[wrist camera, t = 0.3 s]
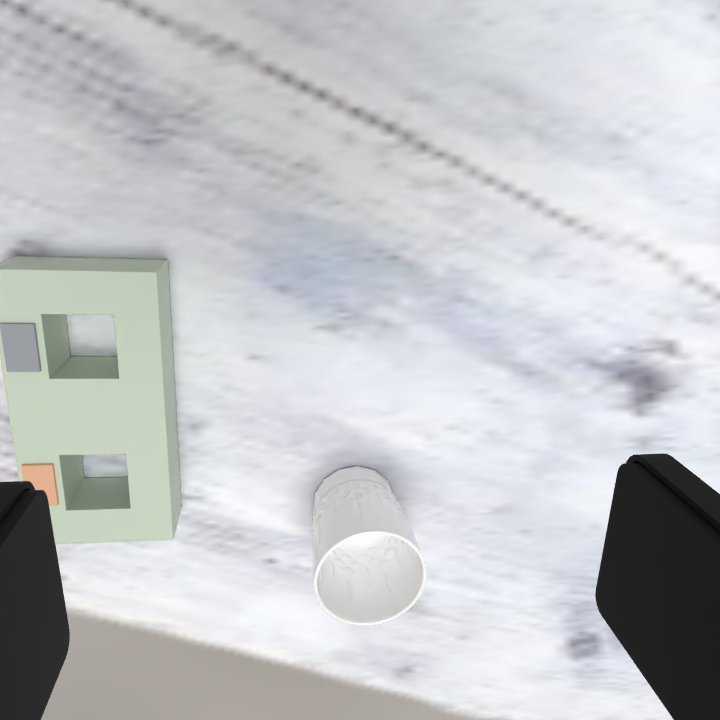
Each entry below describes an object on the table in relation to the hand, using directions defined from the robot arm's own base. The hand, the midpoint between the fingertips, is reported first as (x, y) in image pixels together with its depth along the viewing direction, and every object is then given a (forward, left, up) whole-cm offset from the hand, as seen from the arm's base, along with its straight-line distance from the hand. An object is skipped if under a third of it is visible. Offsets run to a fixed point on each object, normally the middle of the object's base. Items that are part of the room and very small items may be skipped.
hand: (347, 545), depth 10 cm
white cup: (+22, +5, -36) cm, 43 cm away
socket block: (+12, -14, -36) cm, 40 cm away
